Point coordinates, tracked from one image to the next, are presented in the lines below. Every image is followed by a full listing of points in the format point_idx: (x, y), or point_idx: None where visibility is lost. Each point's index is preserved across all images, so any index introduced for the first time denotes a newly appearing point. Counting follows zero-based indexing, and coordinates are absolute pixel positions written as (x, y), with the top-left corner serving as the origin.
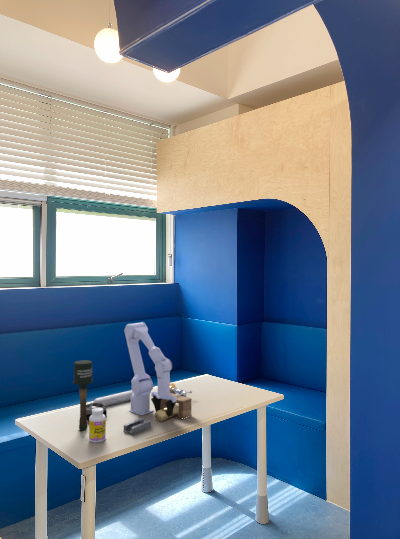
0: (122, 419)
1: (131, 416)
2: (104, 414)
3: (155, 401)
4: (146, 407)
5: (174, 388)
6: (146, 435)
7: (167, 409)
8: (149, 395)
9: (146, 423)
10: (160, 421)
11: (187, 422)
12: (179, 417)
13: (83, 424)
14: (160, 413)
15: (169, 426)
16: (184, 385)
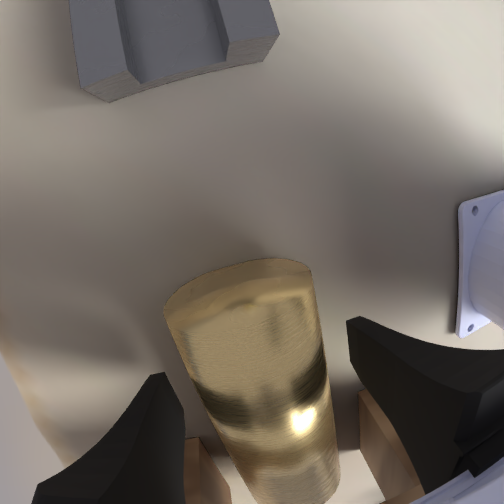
0: (467, 31)
1: (486, 123)
2: None
3: (439, 400)
4: (501, 282)
5: None
6: (5, 10)
7: (130, 430)
8: None
9: (73, 12)
10: (202, 276)
11: (79, 432)
12: (187, 444)
13: None
14: (200, 321)
15: (46, 286)
16: None
